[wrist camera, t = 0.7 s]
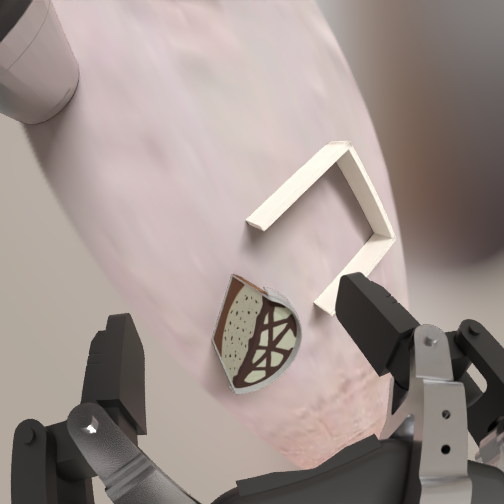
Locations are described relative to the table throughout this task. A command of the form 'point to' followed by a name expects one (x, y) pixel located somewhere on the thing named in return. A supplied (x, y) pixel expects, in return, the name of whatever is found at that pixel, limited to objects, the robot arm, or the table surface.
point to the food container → (255, 335)
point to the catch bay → (363, 192)
